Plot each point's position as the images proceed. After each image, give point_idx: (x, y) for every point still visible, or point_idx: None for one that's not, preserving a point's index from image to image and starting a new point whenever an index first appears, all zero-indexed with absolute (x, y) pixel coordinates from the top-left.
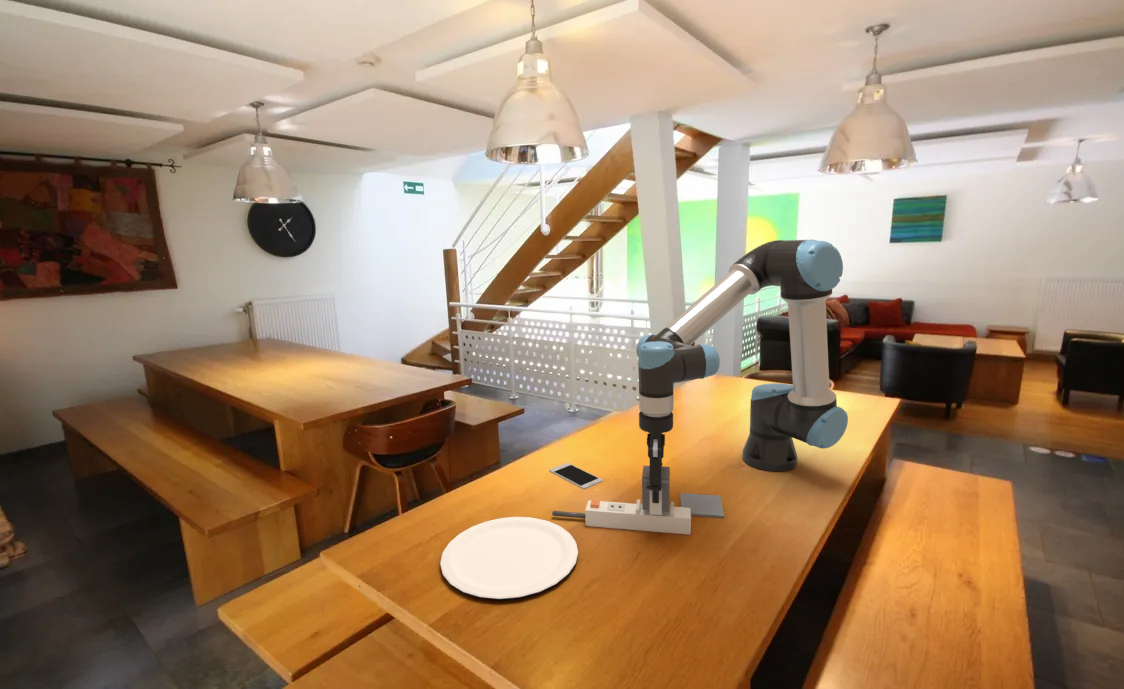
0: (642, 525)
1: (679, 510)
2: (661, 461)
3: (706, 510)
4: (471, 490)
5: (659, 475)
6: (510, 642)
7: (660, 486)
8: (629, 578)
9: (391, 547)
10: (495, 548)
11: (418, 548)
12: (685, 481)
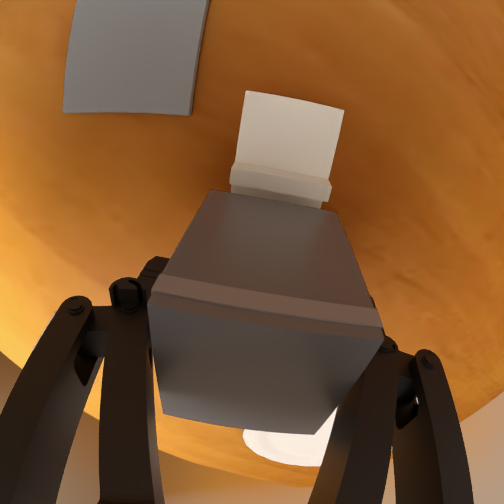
0: None
1: (269, 143)
2: (145, 389)
3: (171, 23)
4: (164, 448)
5: (455, 437)
6: (480, 397)
7: (443, 376)
8: (463, 300)
9: (297, 477)
10: (323, 442)
11: (302, 470)
12: (6, 102)
